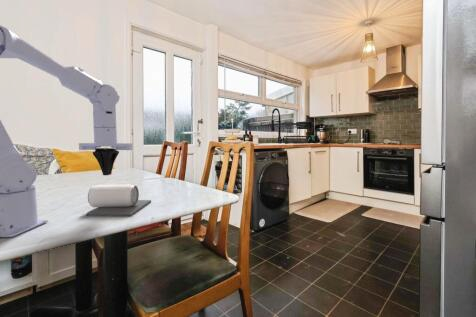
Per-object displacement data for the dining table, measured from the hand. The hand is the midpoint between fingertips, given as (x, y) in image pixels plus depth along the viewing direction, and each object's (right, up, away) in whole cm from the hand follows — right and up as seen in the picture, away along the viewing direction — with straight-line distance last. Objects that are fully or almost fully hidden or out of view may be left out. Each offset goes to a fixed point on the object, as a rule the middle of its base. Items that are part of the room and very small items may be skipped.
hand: (107, 174), depth 69 cm
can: (-4, -6, 0) cm, 8 cm away
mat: (+4, -10, +1) cm, 11 cm away
